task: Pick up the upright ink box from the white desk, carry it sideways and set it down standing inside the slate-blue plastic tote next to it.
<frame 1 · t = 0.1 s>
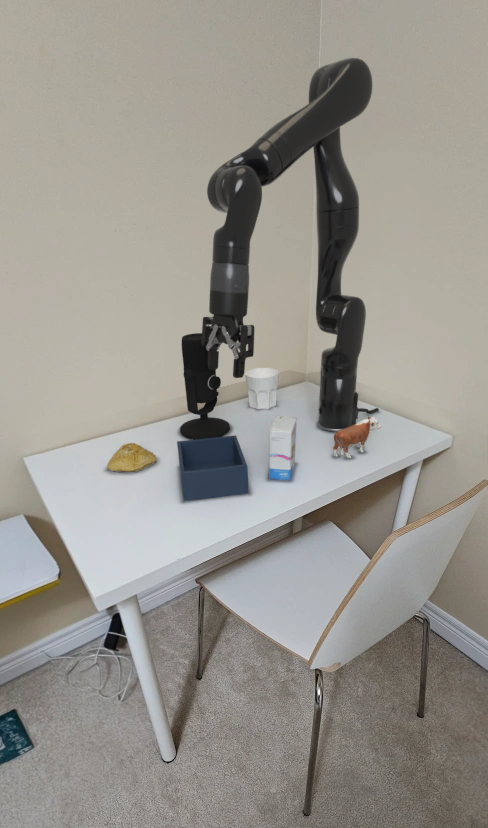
hand: (225, 373, 99), 22 cm above the table, tool pointing down, fingers open, 8 cm apart
fossil: (132, 464, 114), on the table
cup: (262, 405, 145), on the table
bull figurine: (354, 453, 115), on the table
ink box: (282, 472, 108), on the table
tote: (212, 479, 106), on the table
microphone: (205, 430, 130), on the table
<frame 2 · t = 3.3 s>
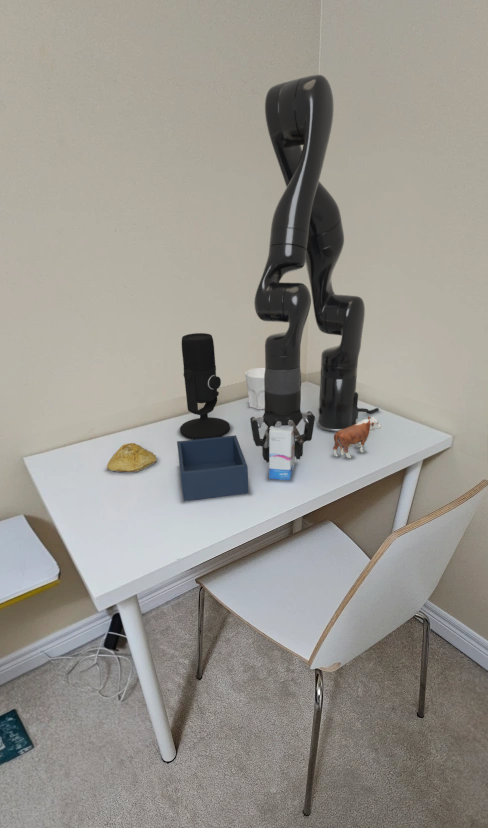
hand: (282, 459, 106), 3 cm above the table, tool pointing down, fingers closed on ink box, 6 cm apart
ink box: (282, 472, 108), on the table, touching gripper
everything else where it was.
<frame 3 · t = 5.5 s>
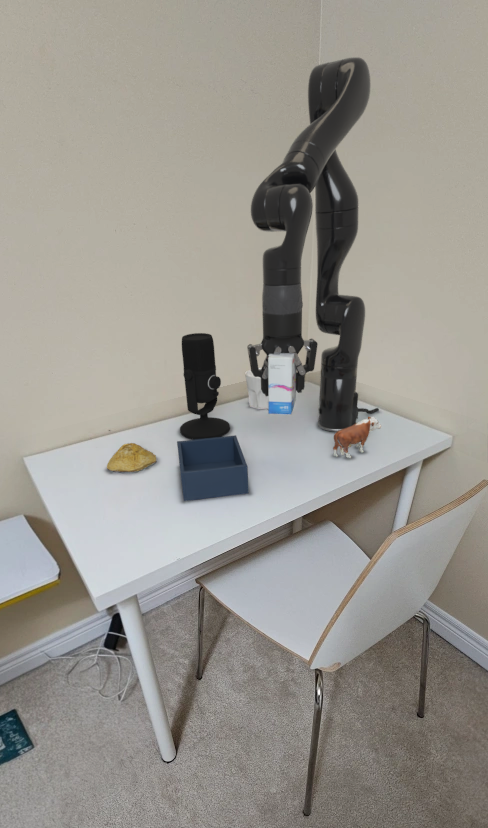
hand: (282, 393, 99), 18 cm above the table, tool pointing down, fingers closed on ink box, 6 cm apart
ink box: (283, 408, 100), point 15 cm above the table, touching gripper
everything else where it was.
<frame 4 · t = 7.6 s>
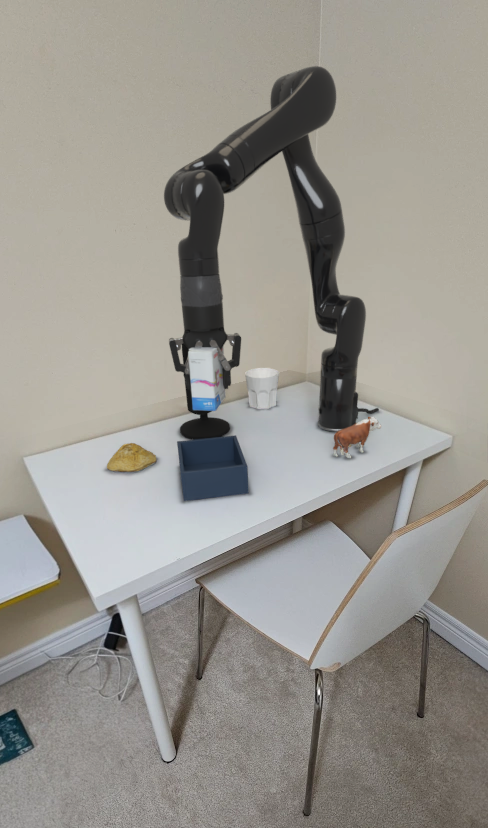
hand: (208, 389, 96), 21 cm above the table, tool pointing down, fingers closed on ink box, 6 cm apart
ink box: (210, 404, 97), point 17 cm above the table, touching gripper
everything else where it was.
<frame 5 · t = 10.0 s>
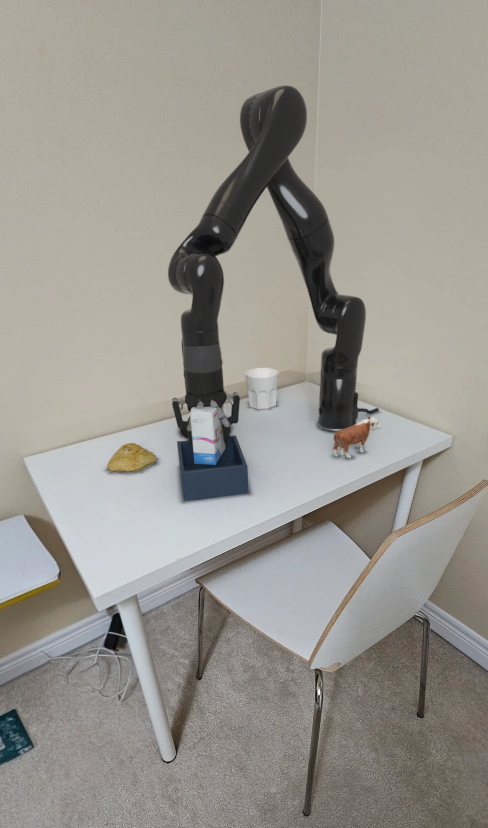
hand: (209, 443, 101), 9 cm above the table, tool pointing down, fingers closed on ink box, 6 cm apart
ink box: (210, 457, 103), point 6 cm above the table, touching gripper
everything else where it was.
when the fingers open (4 cm above the table, at t = 11.9 s): ink box stays where it is, resting on tote.
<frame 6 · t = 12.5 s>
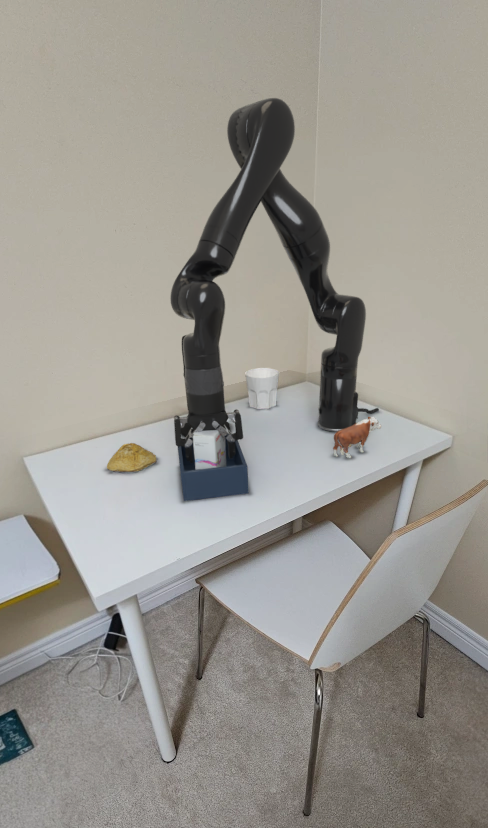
hand: (211, 459, 103), 5 cm above the table, tool pointing down, fingers open, 8 cm apart
ink box: (212, 477, 106), resting on tote
everything else where it was.
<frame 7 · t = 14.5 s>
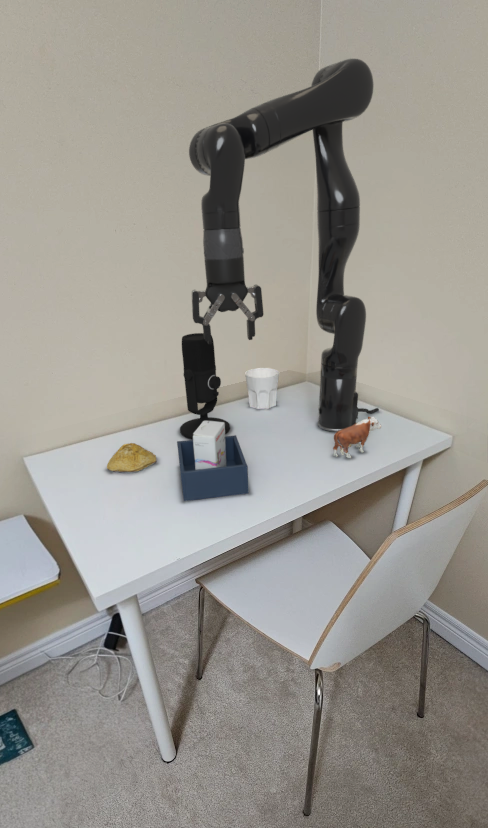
hand: (229, 341, 99), 28 cm above the table, tool pointing down, fingers open, 8 cm apart
nothing on the table moved.
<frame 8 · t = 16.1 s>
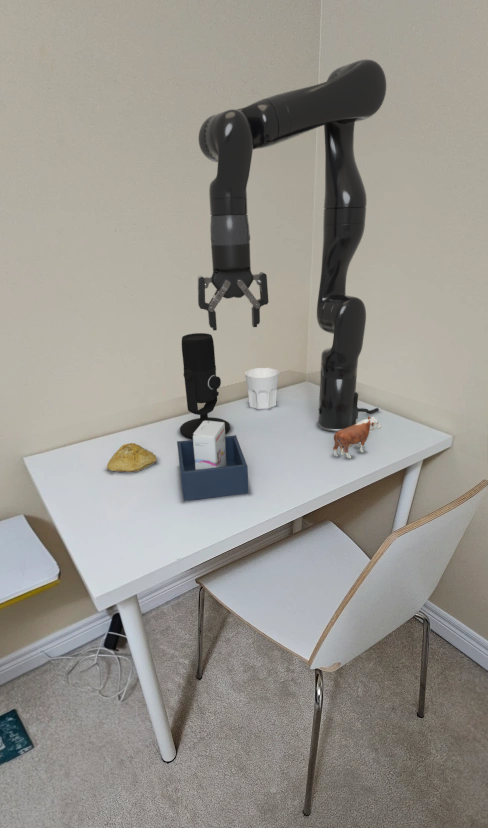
hand: (234, 328, 100), 30 cm above the table, tool pointing down, fingers open, 8 cm apart
nothing on the table moved.
at the end: ink box inside the target area in the tote (0.1 cm from its centre), point 0.4 cm above the tote's base; ink box tilted 0°; the gripper is holding nothing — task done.
